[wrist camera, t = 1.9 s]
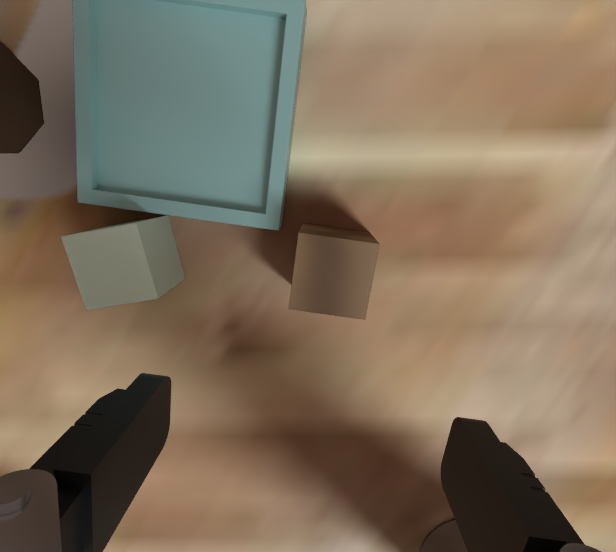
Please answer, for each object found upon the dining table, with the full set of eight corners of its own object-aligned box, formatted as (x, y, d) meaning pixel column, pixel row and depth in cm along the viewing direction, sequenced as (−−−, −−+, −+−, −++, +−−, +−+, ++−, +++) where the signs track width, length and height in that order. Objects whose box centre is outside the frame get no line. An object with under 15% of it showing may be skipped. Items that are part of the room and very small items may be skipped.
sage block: (168, 214, 28) (136, 222, 23) (185, 278, 29) (158, 298, 24) (105, 226, 28) (60, 236, 23) (125, 288, 29) (86, 310, 25)
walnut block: (369, 232, 28) (379, 243, 23) (358, 295, 29) (365, 319, 24) (302, 222, 28) (298, 232, 23) (294, 286, 29) (288, 308, 24)
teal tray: (307, 11, 24) (305, -4, 22) (281, 226, 28) (278, 230, 26) (91, -19, 24) (71, -36, 22) (94, 200, 28) (77, 202, 26)
